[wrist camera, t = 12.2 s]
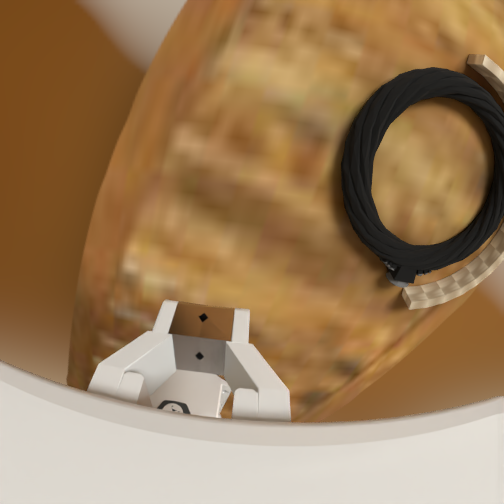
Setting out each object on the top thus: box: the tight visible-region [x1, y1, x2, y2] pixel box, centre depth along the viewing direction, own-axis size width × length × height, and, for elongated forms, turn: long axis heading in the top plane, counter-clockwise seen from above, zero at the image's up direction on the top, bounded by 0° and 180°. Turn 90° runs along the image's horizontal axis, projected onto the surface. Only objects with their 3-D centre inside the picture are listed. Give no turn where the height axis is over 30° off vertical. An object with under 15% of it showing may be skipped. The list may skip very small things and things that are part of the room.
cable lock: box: [341, 67, 504, 287], centre depth 32 cm, size 28×4×30 cm
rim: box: [402, 54, 504, 310], centre depth 32 cm, size 37×17×4 cm, turn 174°
